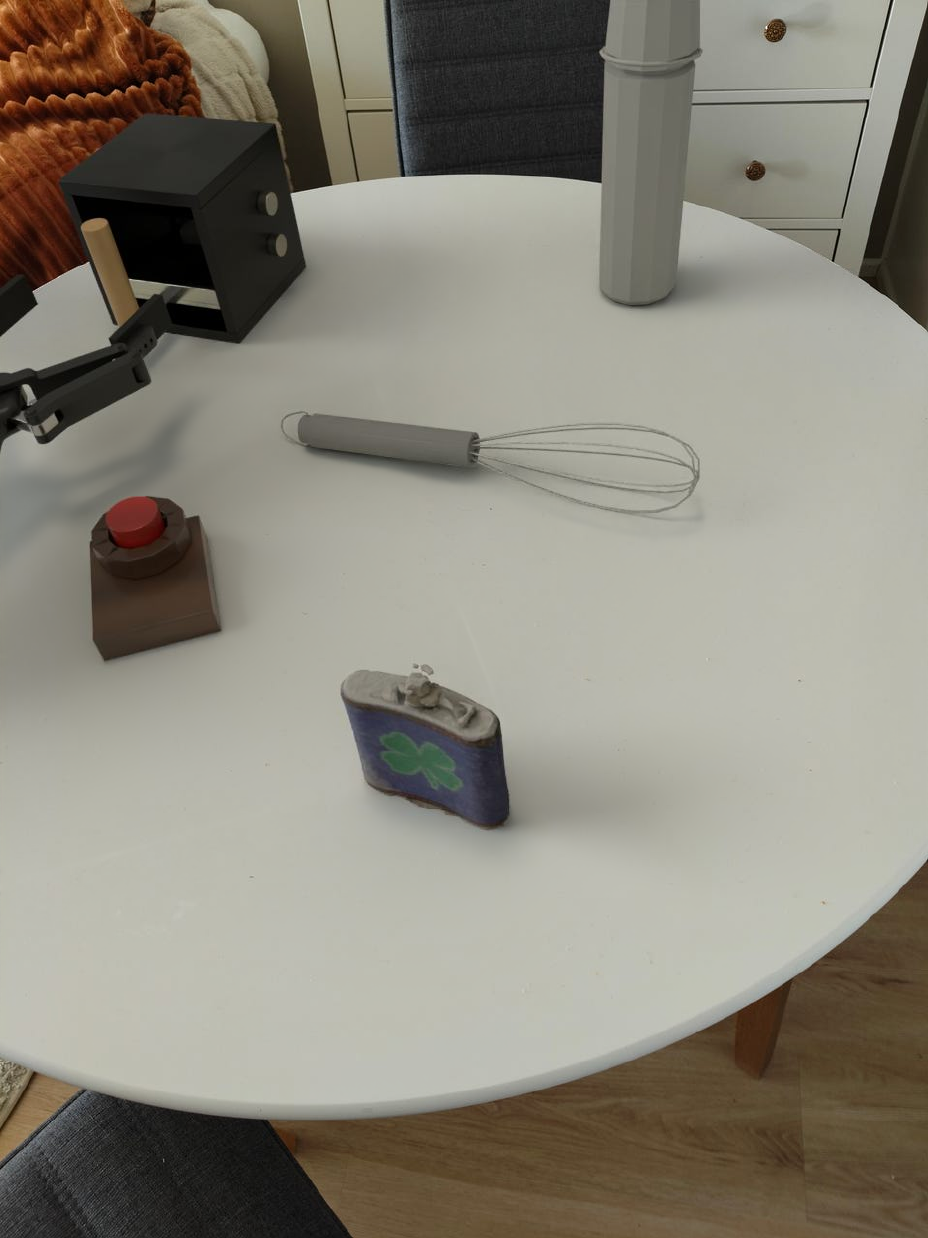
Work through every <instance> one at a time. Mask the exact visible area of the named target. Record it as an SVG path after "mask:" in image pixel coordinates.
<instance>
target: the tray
mask: <svg viewBox="0 0 928 1238" xmlns="http://www.w3.org/2000/svg"><path fill="white" fill-rule="evenodd" d="M175 219H176V222H177V226H178V229H179V231H178V232H177V233H176V234H175V235H174V236H172V237H171V238H170V239H169V240H168V241H167V242H166V243H165V244H164V245H163V246H162V247H161V248H160V249H159V250H157V251H156V252H155V253H154V254H153V255H152V256H151V257H150V258H149V259H148V260H147V261H146V262H145V263H144V264H143V265H141V266H140V267H139V268H138V269H137V270H136V271H135V272H134V273H133V274H132V275H131V276H127V273H126V270H125V268H124V265H123V262H122V259H121V257H120V254H119V251H118V248H117V246H116V243H115V240H114V237H113V235H112V232H111V229H110V226H109V223H108V221H107V220H106V219H103V218H96V219H91V220H88V221H86V222H84V223H83V224H82V225H81V230H82V233H83V235H84V238H85V240H86V243H87V246H88V248H89V251H90V253H91V256H92V259H93V261H94V264H95V266H96V269H97V272H98V274H99V277H100V279H101V282H102V285H103V287H104V290H105V292H106V295H107V298H108V300H109V303H110V305H111V308H112V310H113V313H114V316H115V318H116V321H117V323H118V325H117V326H118V329H119V328H120V327H121V326H122V325H123V324H124V323H125V322H126V321H127V320H128V319H129V318H130V317H131V316H132V315H133V314H134V313H135V312H136V311H137V310H138V309H139V306H138V303H137V301H136V298H142V299H149V298H150V297H151V296H153V295H154V294H160V295H163V298H164V301H165V304H166V307H167V310H168V311H169V310H170V309H171V308H172V307H173V306H174V305H175V303H178V304H185V305H192V306H199V307H206V308H213V309H221V308H220V305H219V302H218V298H217V295H216V291H215V288H214V285H213V281H212V278H211V274H210V271H209V268H208V264H207V261H206V257H205V254H204V251H203V247H202V244H201V240H200V237H199V234H198V230H197V227H196V223H195V220H194V217H189V216H180V215H178V216H177V217H176V218H175Z"/></svg>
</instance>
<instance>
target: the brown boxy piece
mask: <svg viewBox="0 0 928 1238" xmlns="http://www.w3.org/2000/svg"><path fill="white" fill-rule="evenodd" d="M144 497H147V498H150V499H152V500H153V501H154V502H155V503H156V504H157V506H158V509H159V511H160V514H161V516H162V518H163V521H164V523H165V529H164V532H163V534H162V536H161V537H160V538H158V539H157V540H155V541H153V542H152V543H150V544H149V545H146V546H142V547H138V548H134V549H127V548H122V547H120V546H119V545H117V544H116V542H115V541H114V539H113V536H112V534H111V532H110V530H109V528H108V526H107V524H106V515H107V513H108V511H106V512H105V513H103V514H102V515H101V517H100V518H99V519H98V521H97V522H96V523H95V525H94V527H93V528H92V529H91V531H90V535H91V538H90V539H91V540H90V541H89V565H90V566H89V567H90V595H91V599H90V600H91V624H92V627H91V629H92V642H93V644H94V645H95V647H96V649H97V651H98V652H99V655H100V656H101V658H102V659H103V661H104V662H106V661H109V660H110V661H111V660H113V659H117V658H121V657H125V656H130V655H133V654H137V653H141V652H146V651H149V650H153V649H157V648H161V647H164V646H167V645H172V644H176V643H180V642H185V641H189V640H192V639H195V638H200V637H204V636H208V635H211V634H215V633H219V632H221V631H222V629H221V627H222V626H221V621H220V616H219V608H218V602H217V594H216V587H215V582H214V575H213V568H212V563H211V556H210V555H211V554H210V548H209V542H208V536H207V533H206V531H205V528H204V525H203V522H202V520H201V517H200V515H198V514H197V515H193V516H189V517H187V515H186V514H185V511H184V509H183V508H182V507H181V506H179V505H178V504H177V503H176V502H175V501H173V500H171V499H170V498H167V497H159V496H151V495H145V496H144Z"/></svg>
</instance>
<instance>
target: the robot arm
mask: <svg viewBox="0 0 928 1238" xmlns="http://www.w3.org/2000/svg"><path fill="white" fill-rule="evenodd" d="M38 305H39V303H38V300H37V299H36V296H35V294H34V292H33V289H32V287H31V285H30V282H29V280H28V279H27V276H26V274H19V273H17V274H16V275H15V276H14V277H12V279H10V280H8V282H7V283H5V284H4V285H3V286H1V288H0V338H1V337H3V335H5V334H6V333H7V332H8V331H9V330H10V329H11V328H12V327H14V326H15V325H16V324H17V323H19V321H20V320H21V319H23V318H24V317H25V316H26V315H27V314H28V313H30V312H31V311H32V310H33V309H34V308H36V307H37V306H38ZM171 326H172V322H171V319H170V316H169V313H168V310H167V307H166V304H165V301H164V298H163V295H160V294H154V295H153V296H151V297H150V298H149V299H148V300H147V301H146V302H145V303H144V304H143V305H142V306H141V307H140V308H139V309H138V310H137V311H136V312H135V313H134V314H133V315H132V316H131V317H130V318H129V319H128V320H127V321H126V322H125V323H124V324H123V325H122V326H121V327H120V328H119V327H118V328H117V329H116V330H115V331H114V332H113V333H112V334H111V335H110V336H109V337H108V341H109V343H110V345H108V346H105V347H103V348H102V347H101V348H99V349H96V350H94V351H91V352H88V353H85V354H82V355H79V356H76V357H74V358H71V359H68V360H64V361H62V362H60V363H56V364H53V365H50V366H48V367H45V368H42V369H38V370H36V369H33V368H30V367H26V368H22V369H20V370H17V371H14V372H6V371H5V372H0V453H2V447H3V444H4V441H5V440H7V439H8V438H10V437H11V436H13V435H15V434H17V433H19V432H21V431H24V432H28V433H31V434H33V436H34V438H35V440H36V443H37V444H39V445H47V444H49V443H51V442H52V441H54V440H55V439H56V438H57V437H59V436H60V434H62V433H63V432H64V431H65V430H66V429H67V428H69V427H71V426H73V425H75V424H77V423H79V422H81V421H83V420H84V419H86V418H89V417H91V416H93V415H94V414H96V413H98V412H100V411H102V410H104V409H105V408H107V407H109V406H111V405H113V404H115V403H117V402H119V401H121V400H122V399H125V398H126V397H129V396H131V394H132V395H133V394H134V393H136V392H138V391H140V390H142V389H144V388H146V387H147V386H149V385H151V383H152V378H151V375H150V372H149V369H148V366H147V363H146V361H145V358H146V357H147V356H148V355H149V354H150V353H151V352H152V351H153V350H154V349H155V348H156V347H157V346H158V342H159V341H158V340H159V339H160V338H161V337H162V336H163V335H164V334H165V333H167V332H166V331H167V330H168V329H169V328H170V327H171ZM26 385H27V386H28V387H29V388H30V389H31V392H32V394H33V395H34V398H35V399H32V400H30V401H29V397H28V394H27V392H26V391H25V388H24V386H26ZM28 403H29V405H28Z"/></svg>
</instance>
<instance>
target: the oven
mask: <svg viewBox="0 0 928 1238" xmlns="http://www.w3.org/2000/svg"><path fill="white" fill-rule="evenodd" d="M57 183H58V186H59V188H60V191H61V193H62V196H63V199H64V202H65V204H66V207H67V209H68V212H69V214H70V217H71V220H72V222H73V225H74V227H75V230H76V233H77V235H78V238H79V240H80V243H81V246H82V249H83V251H84V253H85V256H86V258H87V261H88V263H89V266H90V268H91V271H92V274H93V276H94V279H95V281H96V284H97V286H98V289H99V291H100V294H101V296H102V300H103V302H104V305H105V307H106V309H107V312H108V315H109V317H110V320H111V322H112V324H113V325H115V326H116V325H117V326H118V323H117V321H116V318H115V316H114V313H113V310H112V308H111V305H110V303H109V300H108V298H107V295H106V292H105V290H104V287H103V285H102V282H101V279H100V277H99V274H98V272H97V269H96V266H95V264H94V261H93V259H92V256H91V253H90V251H89V248H88V246H87V243H86V240H85V238H84V235H83V233H82V230H81V225H82V224H83V223H84V222H86V221H88V220H91V219H96V218H103V219H106V220H107V221H108V223H109V226H110V229H111V232H112V235H113V237H114V240H115V243H116V246H117V248H118V251H119V254H120V257H121V259H122V262H123V265H124V268H125V270H126V273H127V276H131V275H132V274H133V273H134V272H135V271H136V270H137V269H138V268H139V267H140V266H141V265H143V264H144V263H145V262H146V261H147V260H148V259H149V258H150V257H151V256H152V255H153V254H154V253H155V252H156V251H157V250H159V249H160V248H161V247H162V246H163V245H164V244H165V243H166V242H167V241H168V240H169V239H170V238H171V237H172V236H174V235H175V234H176V233H177V232H178V231H179V229H178V226H177V222H176V219H175V218H176V217H177V216H178V215H180V216H189V217H194V220H195V223H196V227H197V230H198V234H199V237H200V240H201V244H202V247H203V251H204V254H205V257H206V261H207V264H208V268H209V271H210V274H211V278H212V281H213V285H214V288H215V291H216V295H217V298H218V302H219V305H220V308H221V309H213V308H206V307H199V306H192V305H185V304H178V303H175V305H174V306H173V307H172V308H171V309H170V310H169V311H168V313H169V316H170V319H171V322H172V326H171V327H170V328H169V329H168V330H167V331H166V332H165V333H167V334H168V333H169V334H175V335H181V336H187V337H188V336H189V337H193V338H194V337H195V338H200V339H201V338H202V339H209V340H215V341H221V342H228V343H235V344H240V343H241V342H242V341H243V340H244V339H245V338H246V336H247V335H248V334H249V333H250V332H251V331H252V329H253V328H255V326H256V325H257V324H258V323H259V322H260V320H261V319H262V318H263V317H264V316H265V315H266V314H267V312H268V311H269V310H270V309H271V308H272V306H273V305H274V304H275V303H276V302H277V301H278V300H279V299H280V297H281V296H282V295H283V294H284V293H285V292H286V291H287V290H288V289H289V287H290V286H291V285H292V284H293V282H295V280H296V279H297V278H298V277H299V276H300V274H301V273H302V272H304V270H305V269H306V268H307V263H306V259H305V254H304V250H303V249H304V248H303V243H302V239H301V235H300V230H299V226H298V221H297V217H296V213H295V212H296V211H295V209H294V208H295V207H294V202H293V198H292V194H291V188H290V184H289V178H288V175H287V170H286V165H285V161H284V156H283V151H282V146H281V142H280V138H279V133H278V128H277V124H276V123H275V122H265V121H264V122H263V121H262V122H261V121H249V120H237V119H223V118H210V117H199V116H186V115H185V116H184V115H172V114H161V113H160V114H159V113H147V112H145V113H144V114H142V115H141V116H140V117H139V118H137V119H136V120H134V121H133V122H132V123H130V124H129V125H128V126H127V127H125V128H124V129H123V130H122V131H121V132H119V133H118V134H116V135H115V136H114V137H112V138H111V139H110V140H109V141H107V142H106V143H105V144H103V145H102V146H101V147H99V148H98V149H96V150H95V151H94V152H92V154H90V155H88V156H87V158H85V159H84V160H82V161H81V162H80V163H78V164H77V165H76V166H75V167H73V168H72V169H71V170H70V171H68V172H67V173H65V174H64V175H62V176H61V177H60V178H59V179H58V180H57ZM147 300H148V299H142V298H136V301H137V303H138V306H139V308H140V307H141V306H142V305H143V304H144V303H145V302H146V301H147Z"/></svg>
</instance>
